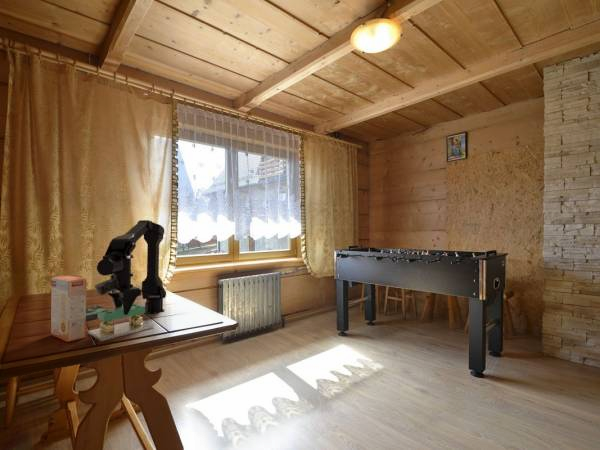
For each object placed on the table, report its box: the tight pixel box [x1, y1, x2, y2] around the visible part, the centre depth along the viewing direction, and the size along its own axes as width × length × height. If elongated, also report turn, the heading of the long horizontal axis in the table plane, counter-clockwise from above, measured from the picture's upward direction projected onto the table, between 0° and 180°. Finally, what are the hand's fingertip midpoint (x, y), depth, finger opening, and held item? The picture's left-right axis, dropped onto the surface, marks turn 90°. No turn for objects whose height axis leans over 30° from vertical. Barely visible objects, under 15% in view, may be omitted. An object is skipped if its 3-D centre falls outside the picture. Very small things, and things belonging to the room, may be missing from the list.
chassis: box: [88, 314, 155, 342], centre depth 114 cm, size 18×12×6 cm, turn 141°
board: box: [97, 303, 146, 322], centre depth 114 cm, size 14×6×2 cm, turn 141°
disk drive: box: [86, 305, 108, 322], centre depth 134 cm, size 10×3×15 cm
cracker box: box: [50, 275, 87, 343], centre depth 108 cm, size 14×6×21 cm, turn 57°
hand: (122, 312), depth 115 cm, fingers closed on board, 6 cm apart
